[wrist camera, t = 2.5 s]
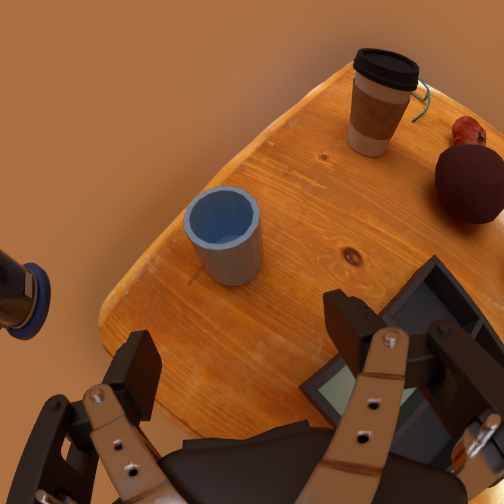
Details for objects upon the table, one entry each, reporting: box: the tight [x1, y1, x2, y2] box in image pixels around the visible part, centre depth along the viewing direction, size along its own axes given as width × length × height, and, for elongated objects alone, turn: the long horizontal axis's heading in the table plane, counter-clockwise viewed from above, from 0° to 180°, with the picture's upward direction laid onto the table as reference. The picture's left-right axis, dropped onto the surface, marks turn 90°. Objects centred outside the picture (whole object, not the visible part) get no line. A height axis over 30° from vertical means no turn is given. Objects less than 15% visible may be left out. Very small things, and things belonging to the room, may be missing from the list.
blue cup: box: [184, 186, 263, 286], centre depth 25 cm, size 6×6×8 cm
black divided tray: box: [299, 255, 504, 472], centre depth 19 cm, size 18×18×4 cm
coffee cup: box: [348, 48, 419, 157], centre depth 29 cm, size 8×8×15 cm
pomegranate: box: [452, 116, 486, 146], centre depth 32 cm, size 7×7×10 cm
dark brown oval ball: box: [435, 144, 504, 224], centre depth 25 cm, size 11×13×10 cm
